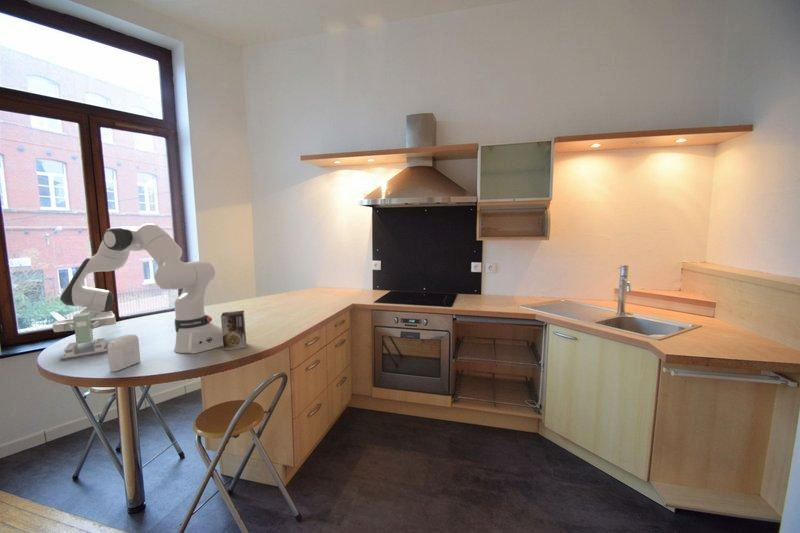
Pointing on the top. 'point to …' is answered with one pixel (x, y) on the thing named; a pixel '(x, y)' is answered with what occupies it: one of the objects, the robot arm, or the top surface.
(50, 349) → the top surface
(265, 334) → the top surface
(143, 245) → the robot arm
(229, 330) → the coffee box
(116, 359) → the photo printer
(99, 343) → the rail board
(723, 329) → the top surface
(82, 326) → the loose module
